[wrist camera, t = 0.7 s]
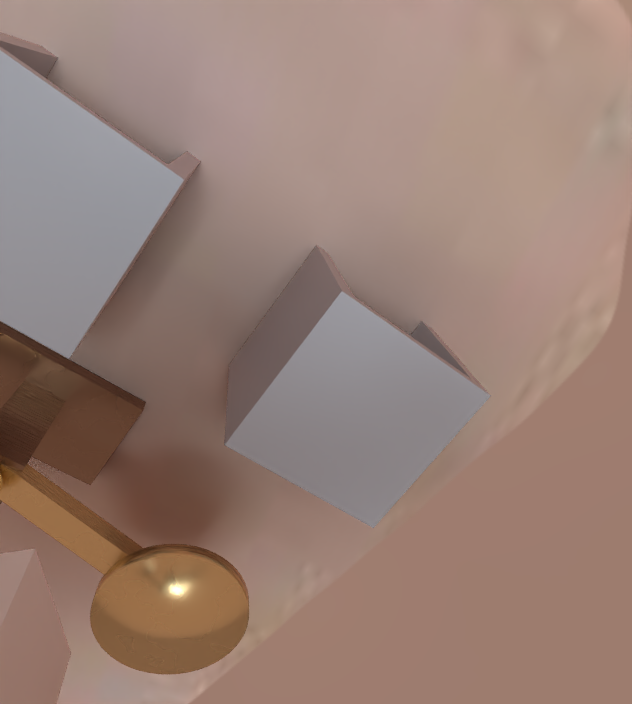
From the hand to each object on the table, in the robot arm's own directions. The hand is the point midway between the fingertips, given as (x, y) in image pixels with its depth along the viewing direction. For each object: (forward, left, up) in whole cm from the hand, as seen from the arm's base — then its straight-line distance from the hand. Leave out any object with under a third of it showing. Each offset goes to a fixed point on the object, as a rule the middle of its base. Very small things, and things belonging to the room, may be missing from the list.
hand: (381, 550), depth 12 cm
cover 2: (+4, -2, -22) cm, 23 cm away
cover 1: (-12, -2, -22) cm, 25 cm away
